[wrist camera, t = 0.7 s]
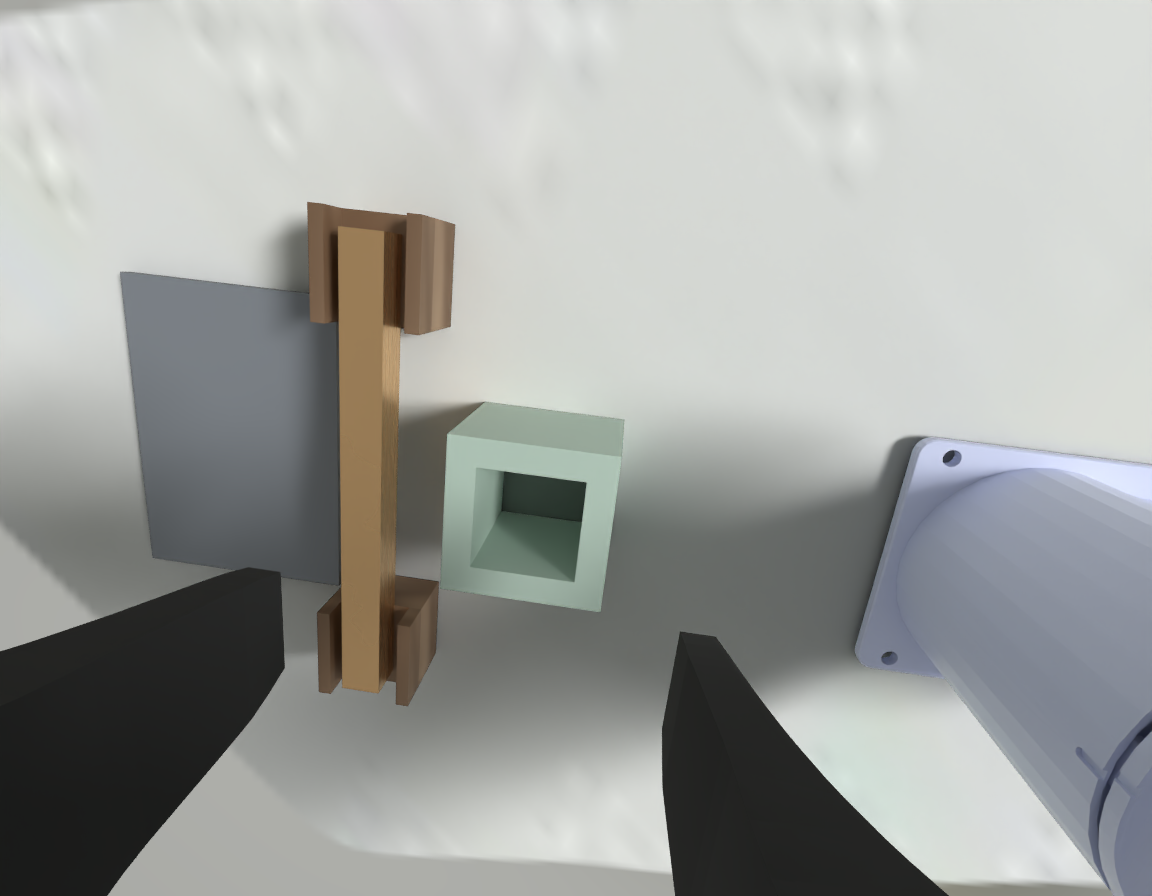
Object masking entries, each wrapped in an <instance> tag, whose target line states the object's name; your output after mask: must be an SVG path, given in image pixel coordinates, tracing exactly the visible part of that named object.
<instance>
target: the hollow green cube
mask: <svg viewBox="0 0 1152 896" xmlns="http://www.w3.org/2000/svg"><path fill="white" fill-rule="evenodd" d="M623 432H624V420H622V419H614V418H606V417H598V416H591V415H583V414H575V413H567V412H559V411H552V410H544V409H536V408H528V407H521V406H513V405H505V404H497V403H490V402H485V403H483V404H482V405H481V406H480V407H479V408H477V409H476V410H475V411H474V412H473V413H471V414H470V415H469V416H468V417H467V418H466V419H464V420H463V421H462V422H461V423H460V424H458V425H457V426H456V427H455V428H454V429H452V430H451V431H450V432H449V433H448V434H447V451H446V472H445V494H444V516H443V537H442V559H441V580H440V589H446V590H453V591H460V592H466V593H473V594H480V595H486V596H493V597H500V598H507V599H513V600H520V601H527V602H534V603H540V604H547V605H554V606H560V607H567V608H574V609H581V610H587V611H594V612H601V604H602V597H603V590H604V583H605V576H606V568H607V561H608V554H609V547H610V540H611V532H612V525H613V518H614V511H615V504H616V496H617V489H618V482H619V475H620V468H621V460H622V448H623ZM504 471H506V472H513V473H521V474H528V475H536V476H543V477H550V478H558V479H565V480H572V481H580V482H587V485H586V493H585V502H584V510H583V518H582V522H577V521H569V520H562V519H555V518H548V517H541V516H534V515H526V514H519V513H512V512H505V511H501V510H502V497H503V484H504Z"/></svg>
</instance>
